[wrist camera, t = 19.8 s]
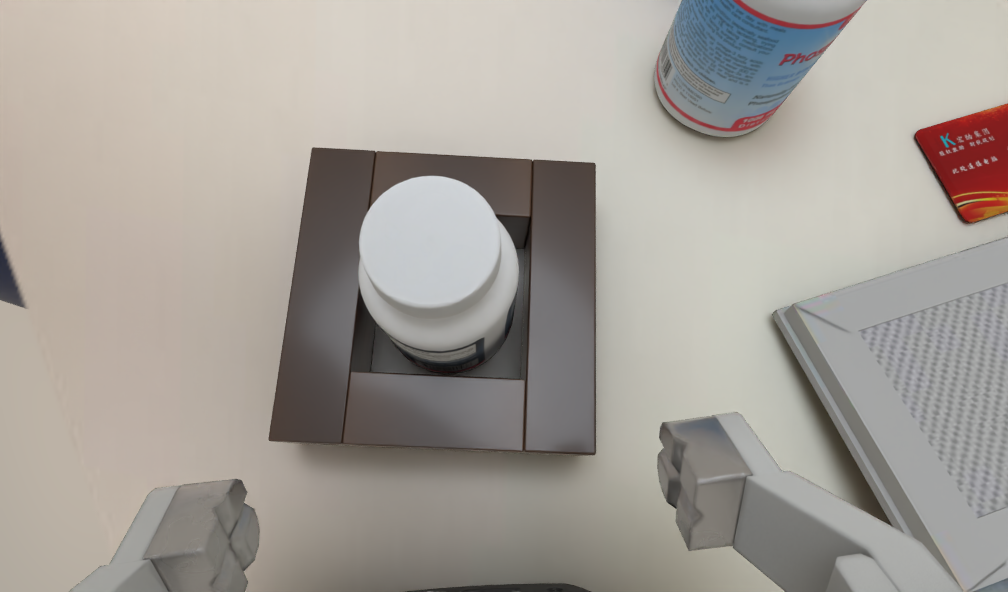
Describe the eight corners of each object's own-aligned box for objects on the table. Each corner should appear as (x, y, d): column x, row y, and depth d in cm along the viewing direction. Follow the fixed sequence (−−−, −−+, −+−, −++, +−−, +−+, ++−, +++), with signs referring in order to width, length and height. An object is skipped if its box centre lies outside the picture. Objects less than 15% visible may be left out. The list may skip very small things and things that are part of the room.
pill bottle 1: (448, 232, 26) (430, 118, 17) (537, 309, 25) (564, 231, 16) (362, 317, 24) (295, 242, 16) (452, 401, 24) (433, 370, 15)
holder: (299, 443, 23) (267, 440, 20) (333, 187, 26) (311, 146, 23) (580, 455, 23) (596, 455, 20) (581, 200, 26) (595, 162, 23)
